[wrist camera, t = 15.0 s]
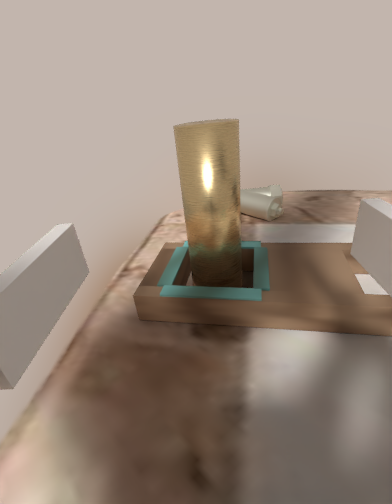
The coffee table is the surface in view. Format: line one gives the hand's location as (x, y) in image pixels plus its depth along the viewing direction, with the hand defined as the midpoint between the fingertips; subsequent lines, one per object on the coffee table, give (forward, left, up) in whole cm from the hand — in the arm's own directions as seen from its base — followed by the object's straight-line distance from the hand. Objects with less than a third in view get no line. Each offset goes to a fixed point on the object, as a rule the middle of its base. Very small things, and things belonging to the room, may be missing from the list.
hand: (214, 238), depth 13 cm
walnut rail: (-6, -9, -10) cm, 14 cm away
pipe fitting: (-2, -27, -10) cm, 29 cm away
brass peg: (+1, -9, -10) cm, 13 cm away
